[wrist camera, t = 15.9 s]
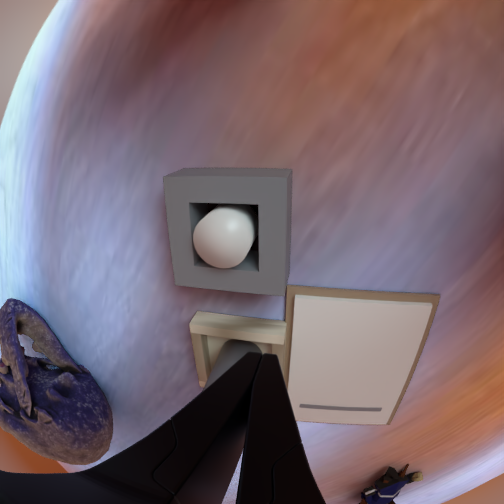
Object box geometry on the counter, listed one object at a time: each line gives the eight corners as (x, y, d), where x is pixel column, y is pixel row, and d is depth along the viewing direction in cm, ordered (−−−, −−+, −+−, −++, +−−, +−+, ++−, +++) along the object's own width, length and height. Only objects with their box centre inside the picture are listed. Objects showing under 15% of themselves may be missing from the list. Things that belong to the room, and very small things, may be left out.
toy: (436, 469, 26) (394, 528, 29) (412, 442, 33) (379, 503, 35) (376, 491, 25) (340, 546, 27) (355, 457, 31) (327, 516, 33)
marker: (264, 342, 23) (243, 413, 17) (261, 372, 25) (241, 440, 19) (221, 334, 24) (190, 400, 18) (221, 364, 25) (194, 428, 19)
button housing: (292, 169, 18) (286, 177, 16) (289, 273, 21) (284, 296, 19) (183, 168, 20) (163, 177, 17) (192, 265, 23) (175, 285, 20)
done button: (259, 200, 19) (248, 215, 16) (259, 249, 20) (249, 270, 18) (208, 199, 20) (190, 212, 17) (212, 246, 21) (195, 265, 18)
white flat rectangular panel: (439, 294, 20) (442, 299, 19) (389, 422, 26) (390, 428, 25) (287, 284, 22) (286, 289, 21) (279, 417, 28) (278, 422, 27)
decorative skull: (-51, 316, 20) (-9, 438, 25) (73, 391, 20) (98, 499, 25) (16, 279, 32) (32, 392, 37) (131, 323, 32) (128, 436, 37)
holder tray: (287, 321, 23) (283, 336, 21) (282, 384, 26) (279, 399, 24) (197, 310, 24) (189, 324, 23) (206, 373, 27) (199, 386, 26)
